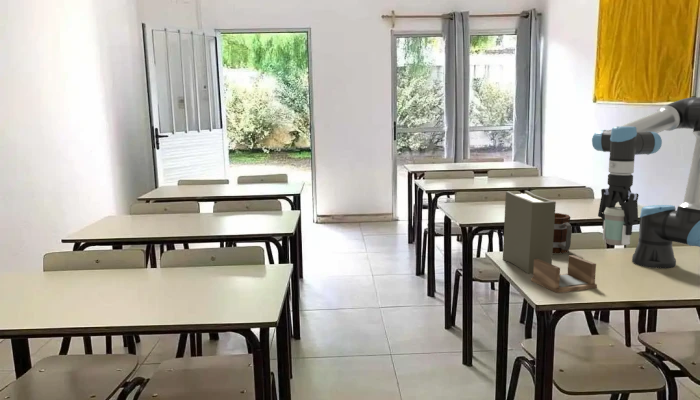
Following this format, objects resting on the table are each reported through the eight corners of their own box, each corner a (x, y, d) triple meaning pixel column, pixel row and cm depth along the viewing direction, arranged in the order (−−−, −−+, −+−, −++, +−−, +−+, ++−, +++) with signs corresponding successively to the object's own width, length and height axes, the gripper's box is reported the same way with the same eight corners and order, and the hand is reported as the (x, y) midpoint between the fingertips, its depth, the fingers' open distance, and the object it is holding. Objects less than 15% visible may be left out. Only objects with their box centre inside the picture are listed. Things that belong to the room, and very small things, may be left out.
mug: (530, 246, 254) (531, 213, 251) (558, 245, 256) (560, 212, 254) (553, 258, 235) (555, 222, 232) (583, 256, 237) (585, 220, 235)
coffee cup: (633, 247, 188) (635, 210, 186) (605, 246, 189) (607, 210, 188) (625, 241, 196) (628, 206, 194) (599, 240, 198) (601, 205, 196)
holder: (569, 276, 210) (570, 254, 208) (596, 287, 197) (598, 264, 195) (531, 281, 205) (532, 258, 203) (556, 292, 192) (558, 269, 190)
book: (552, 274, 215) (557, 200, 210) (529, 275, 213) (533, 201, 208) (523, 258, 236) (527, 190, 230) (502, 259, 234) (505, 191, 228)
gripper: (589, 170, 197) (584, 236, 201) (636, 177, 178) (631, 249, 182) (606, 170, 200) (602, 234, 204) (655, 176, 181) (649, 247, 185)
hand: (615, 241), depth 193 cm, fingers closed on coffee cup, 8 cm apart
